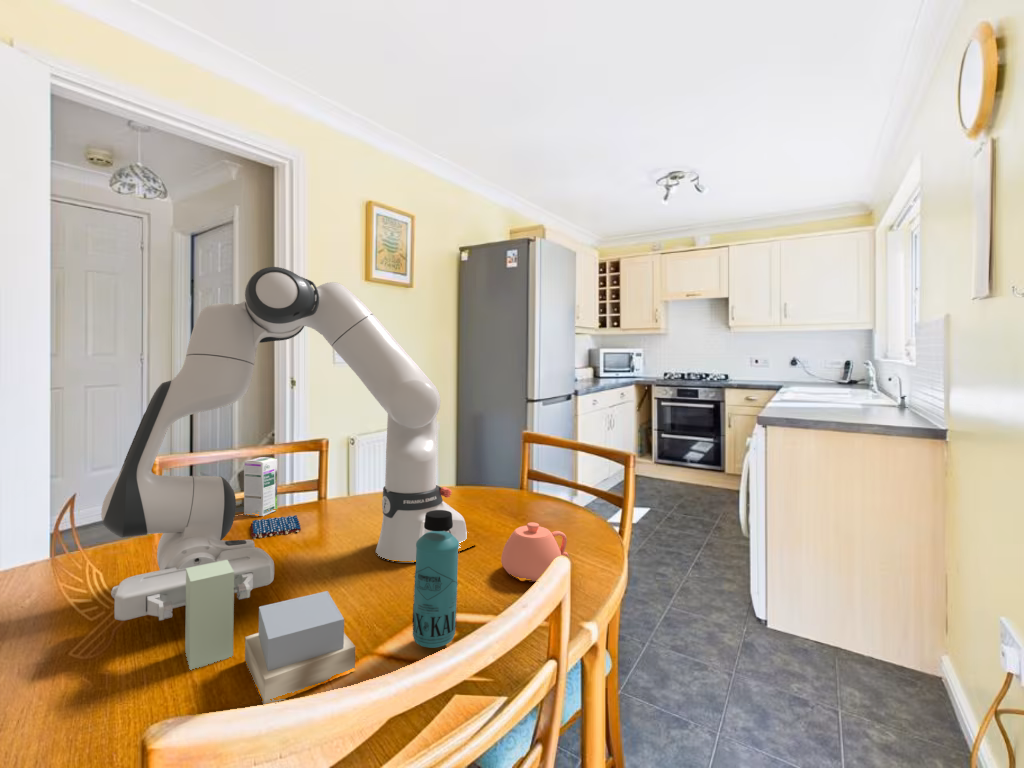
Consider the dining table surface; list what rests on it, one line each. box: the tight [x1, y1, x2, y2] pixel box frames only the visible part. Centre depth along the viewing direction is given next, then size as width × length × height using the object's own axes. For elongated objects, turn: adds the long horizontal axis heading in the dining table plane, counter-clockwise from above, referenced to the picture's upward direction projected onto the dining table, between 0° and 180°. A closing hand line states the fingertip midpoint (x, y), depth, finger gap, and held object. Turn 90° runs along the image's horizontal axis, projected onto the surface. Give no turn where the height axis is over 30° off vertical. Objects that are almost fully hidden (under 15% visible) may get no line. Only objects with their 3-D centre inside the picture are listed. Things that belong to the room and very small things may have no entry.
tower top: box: [258, 590, 345, 671], centre depth 64 cm, size 9×9×4 cm
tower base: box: [244, 632, 356, 705], centre depth 64 cm, size 11×11×4 cm
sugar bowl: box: [500, 522, 570, 582], centre depth 95 cm, size 12×14×10 cm
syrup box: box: [243, 456, 278, 517], centre depth 126 cm, size 6×6×14 cm
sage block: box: [184, 560, 235, 671], centre depth 66 cm, size 5×5×12 cm
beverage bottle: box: [411, 510, 459, 649], centre depth 69 cm, size 6×7×20 cm
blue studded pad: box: [249, 515, 302, 540], centre depth 114 cm, size 10×11×2 cm
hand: (207, 603), depth 67 cm, fingers open, 8 cm apart
